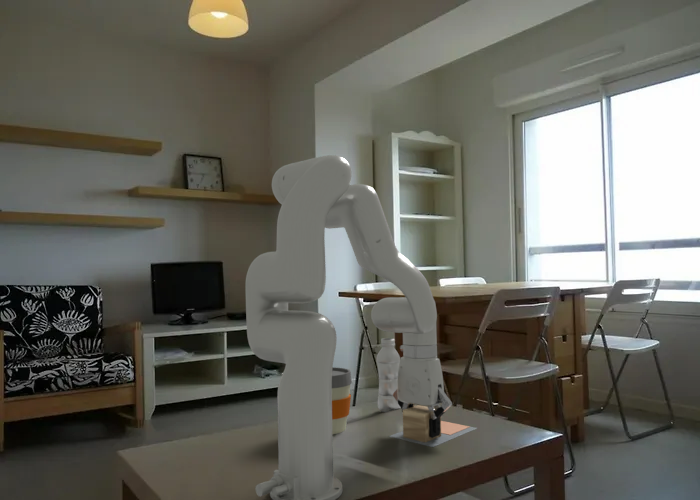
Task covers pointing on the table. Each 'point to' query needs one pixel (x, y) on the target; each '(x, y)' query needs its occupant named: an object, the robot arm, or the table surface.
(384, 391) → the plastic bottle
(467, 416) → the table surface
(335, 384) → the reusable coffee cup
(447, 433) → the post plate
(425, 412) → the wooden block
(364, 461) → the table surface
